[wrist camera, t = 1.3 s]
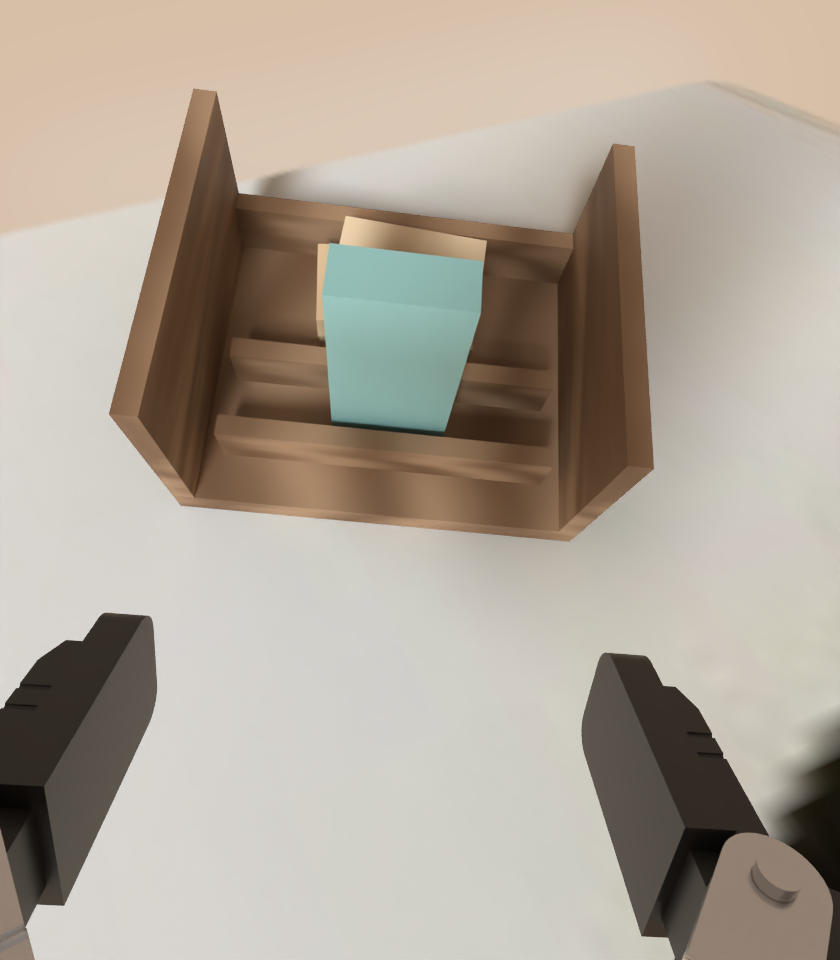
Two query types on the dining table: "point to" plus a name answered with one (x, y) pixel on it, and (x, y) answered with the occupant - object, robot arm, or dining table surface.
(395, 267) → the teal board
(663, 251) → the dining table surface
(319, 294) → the offcut stack
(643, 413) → the walnut rack
